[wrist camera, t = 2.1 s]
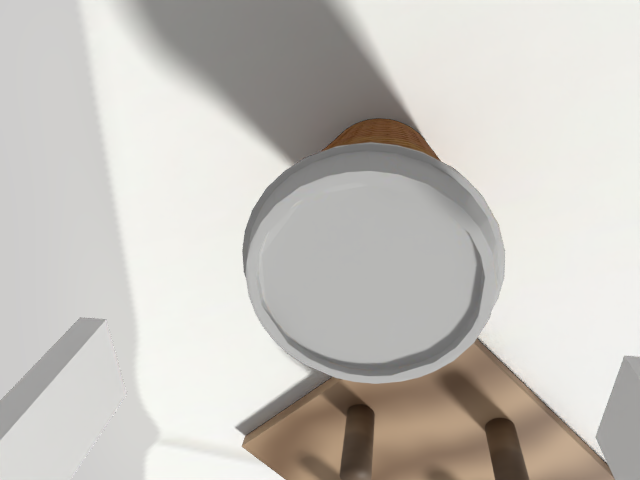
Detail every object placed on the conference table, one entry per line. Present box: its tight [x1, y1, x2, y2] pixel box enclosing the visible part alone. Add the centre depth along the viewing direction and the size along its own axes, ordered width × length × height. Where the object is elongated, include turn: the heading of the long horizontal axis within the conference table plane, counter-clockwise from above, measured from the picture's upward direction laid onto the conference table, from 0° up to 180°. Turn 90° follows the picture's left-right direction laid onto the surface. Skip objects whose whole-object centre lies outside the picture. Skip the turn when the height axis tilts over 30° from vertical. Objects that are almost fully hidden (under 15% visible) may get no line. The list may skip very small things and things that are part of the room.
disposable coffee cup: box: [243, 119, 505, 384], centre depth 22 cm, size 10×10×12 cm
